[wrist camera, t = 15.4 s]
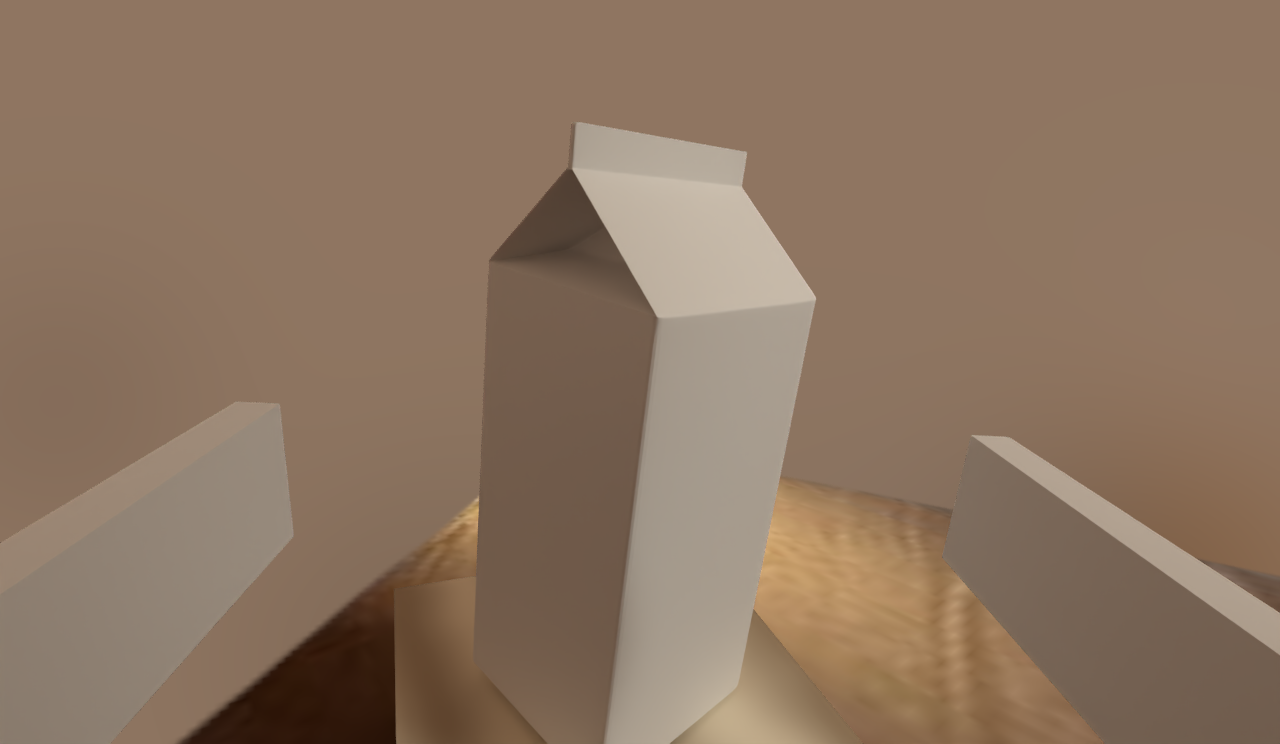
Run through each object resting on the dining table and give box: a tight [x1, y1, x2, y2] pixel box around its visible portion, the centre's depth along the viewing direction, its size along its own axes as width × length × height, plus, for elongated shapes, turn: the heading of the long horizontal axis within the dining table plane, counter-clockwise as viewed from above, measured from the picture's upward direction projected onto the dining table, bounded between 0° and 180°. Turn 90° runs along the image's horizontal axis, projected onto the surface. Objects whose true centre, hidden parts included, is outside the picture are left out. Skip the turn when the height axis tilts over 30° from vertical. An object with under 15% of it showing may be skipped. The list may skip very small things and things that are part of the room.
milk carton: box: [473, 122, 816, 744], centre depth 21 cm, size 7×7×19 cm
